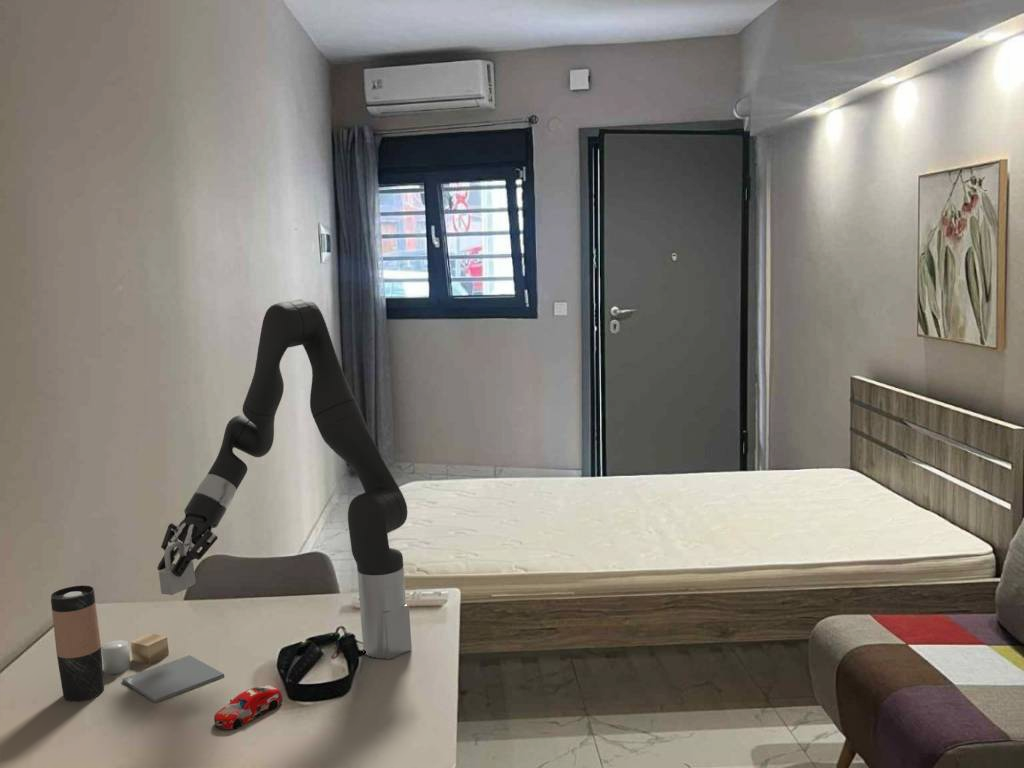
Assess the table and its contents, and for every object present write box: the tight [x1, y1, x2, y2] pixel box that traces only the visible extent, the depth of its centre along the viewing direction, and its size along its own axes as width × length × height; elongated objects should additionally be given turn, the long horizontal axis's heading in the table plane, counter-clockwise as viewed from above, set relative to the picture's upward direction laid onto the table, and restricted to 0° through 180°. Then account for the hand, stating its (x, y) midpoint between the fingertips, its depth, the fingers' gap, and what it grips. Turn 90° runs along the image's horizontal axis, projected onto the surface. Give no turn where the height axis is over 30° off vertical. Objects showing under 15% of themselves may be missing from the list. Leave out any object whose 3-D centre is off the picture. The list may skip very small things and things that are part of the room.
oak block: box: [130, 632, 170, 665], centre depth 200 cm, size 5×5×4 cm
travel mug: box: [50, 585, 105, 702], centre depth 183 cm, size 8×8×20 cm
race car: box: [213, 685, 283, 730], centre depth 172 cm, size 13×5×4 cm, turn 142°
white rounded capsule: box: [101, 639, 132, 675], centre depth 195 cm, size 5×5×5 cm
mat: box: [121, 654, 225, 703], centre depth 189 cm, size 14×14×1 cm
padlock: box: [158, 540, 196, 596], centre depth 199 cm, size 7×4×10 cm, turn 157°
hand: (168, 572), depth 198 cm, fingers closed on padlock, 4 cm apart
